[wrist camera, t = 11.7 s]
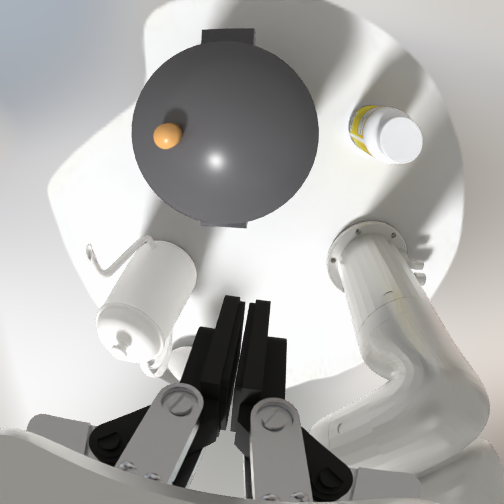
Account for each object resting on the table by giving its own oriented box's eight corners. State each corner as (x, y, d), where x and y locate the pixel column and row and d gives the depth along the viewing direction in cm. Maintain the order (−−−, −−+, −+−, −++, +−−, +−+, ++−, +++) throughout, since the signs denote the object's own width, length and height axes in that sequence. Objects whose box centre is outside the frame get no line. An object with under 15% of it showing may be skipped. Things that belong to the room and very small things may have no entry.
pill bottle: (396, 145, 34) (434, 165, 25) (354, 155, 36) (380, 178, 26) (385, 100, 32) (422, 104, 22) (341, 110, 33) (365, 115, 23)
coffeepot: (185, 187, 40) (124, 256, 23) (208, 325, 52) (183, 415, 36) (118, 193, 41) (39, 256, 24) (152, 322, 53) (115, 403, 37)
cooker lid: (322, 48, 20) (326, 42, 18) (307, 224, 28) (308, 238, 26) (139, 52, 22) (124, 49, 19) (145, 212, 30) (132, 223, 27)
